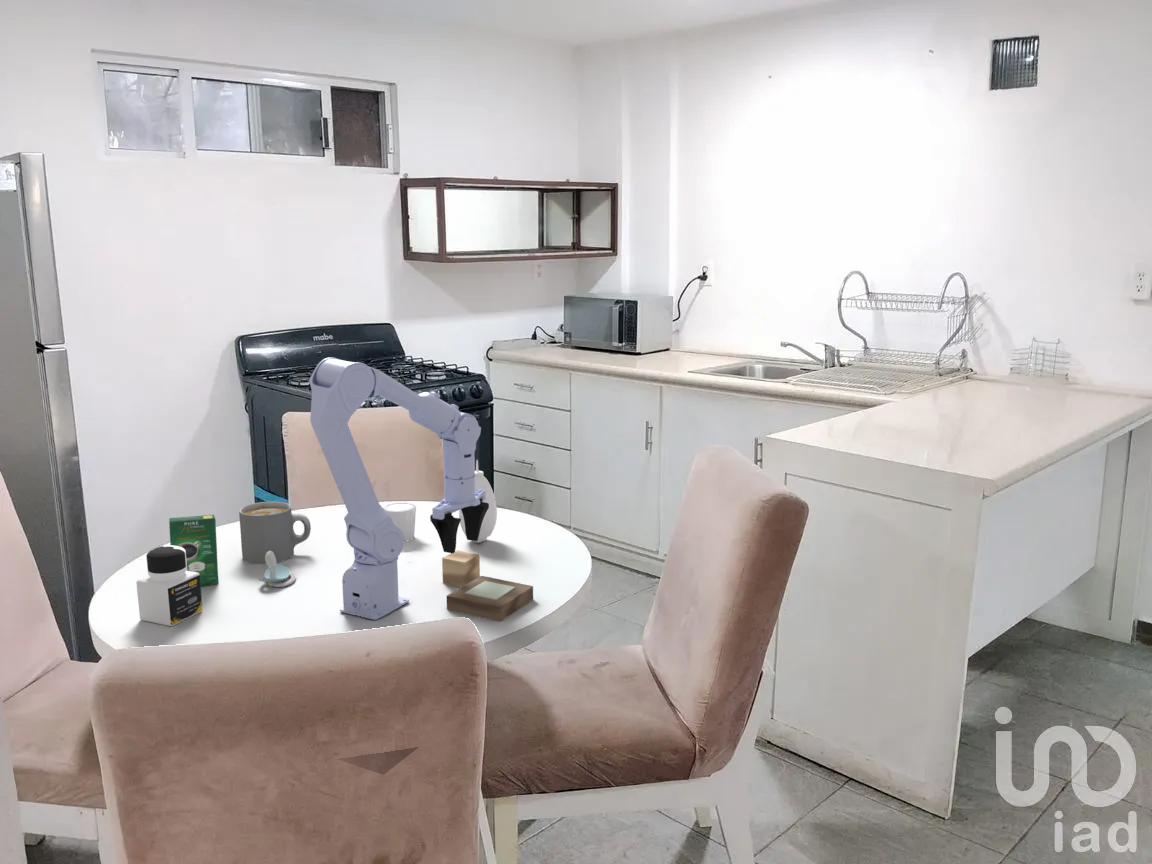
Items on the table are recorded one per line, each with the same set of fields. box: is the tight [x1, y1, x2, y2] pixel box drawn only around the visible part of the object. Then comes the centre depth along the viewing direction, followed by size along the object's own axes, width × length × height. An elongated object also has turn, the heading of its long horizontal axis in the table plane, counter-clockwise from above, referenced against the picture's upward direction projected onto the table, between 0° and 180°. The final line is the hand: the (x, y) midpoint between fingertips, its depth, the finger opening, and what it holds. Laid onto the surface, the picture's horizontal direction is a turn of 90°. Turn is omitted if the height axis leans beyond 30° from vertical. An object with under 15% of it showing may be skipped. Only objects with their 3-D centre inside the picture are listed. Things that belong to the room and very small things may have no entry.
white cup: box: [383, 502, 417, 542], centre depth 196 cm, size 7×7×7 cm
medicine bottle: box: [135, 544, 203, 627], centre depth 154 cm, size 7×7×12 cm
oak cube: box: [441, 549, 481, 588], centre depth 171 cm, size 5×5×5 cm
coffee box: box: [168, 514, 220, 587], centre depth 168 cm, size 8×3×13 cm, turn 113°
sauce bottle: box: [458, 459, 498, 543], centre depth 193 cm, size 8×8×18 cm
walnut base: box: [446, 575, 534, 622], centre depth 160 cm, size 11×11×3 cm
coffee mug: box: [238, 501, 312, 565], centre depth 184 cm, size 13×10×10 cm
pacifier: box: [258, 551, 296, 588], centre depth 170 cm, size 7×6×6 cm
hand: (461, 546), depth 170 cm, fingers open, 7 cm apart
